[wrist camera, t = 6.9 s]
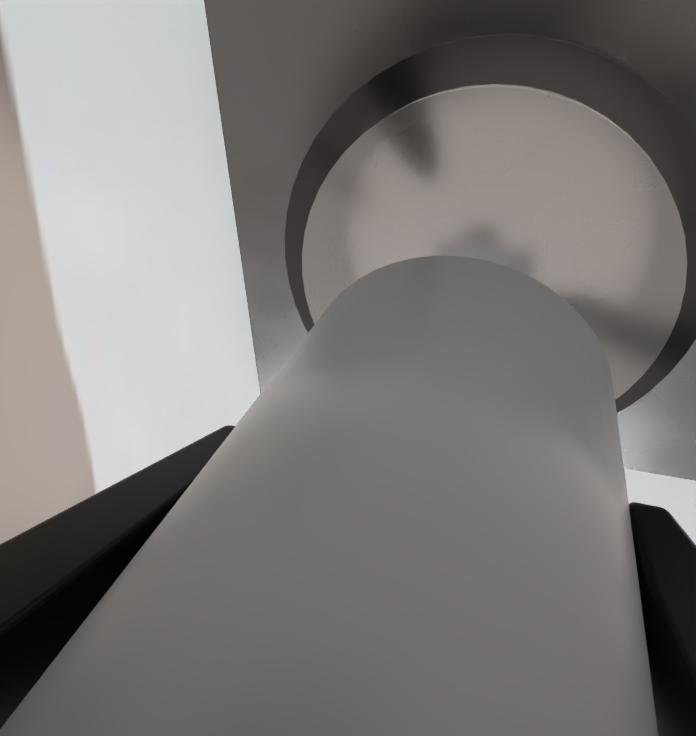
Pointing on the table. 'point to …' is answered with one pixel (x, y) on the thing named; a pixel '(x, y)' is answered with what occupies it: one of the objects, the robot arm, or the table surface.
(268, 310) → the base
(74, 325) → the table surface
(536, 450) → the knob
